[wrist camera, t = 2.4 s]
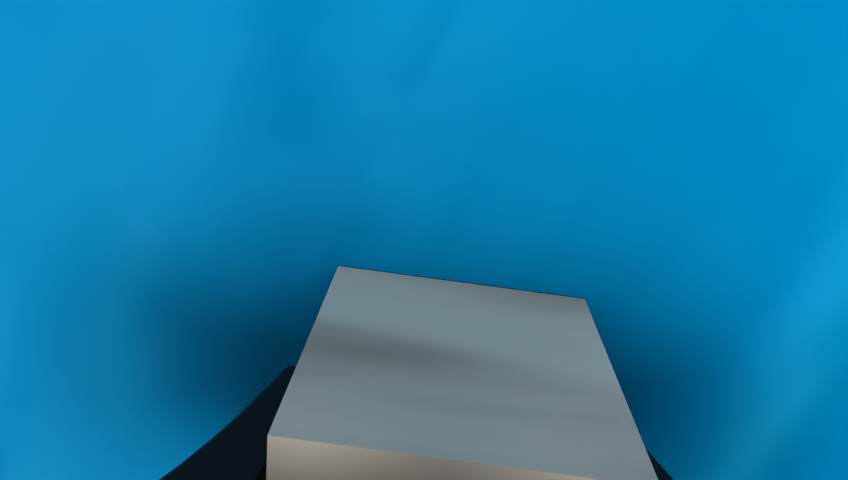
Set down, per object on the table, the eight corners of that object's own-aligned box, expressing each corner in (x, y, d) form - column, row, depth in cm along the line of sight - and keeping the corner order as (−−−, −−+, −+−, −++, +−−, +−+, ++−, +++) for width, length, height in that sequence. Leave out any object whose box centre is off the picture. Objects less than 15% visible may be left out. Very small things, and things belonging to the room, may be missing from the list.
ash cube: (536, 486, 14) (574, 727, 10) (323, 458, 14) (259, 686, 10) (585, 299, 12) (661, 487, 8) (338, 265, 12) (267, 434, 8)
